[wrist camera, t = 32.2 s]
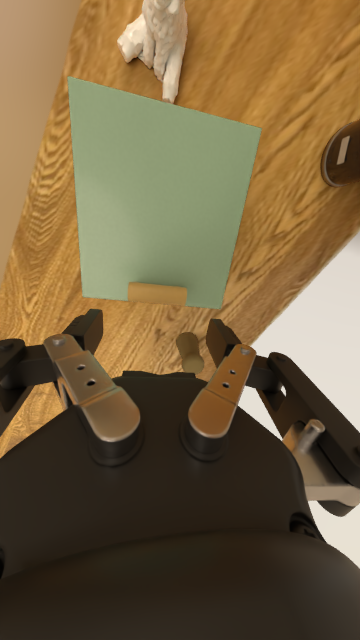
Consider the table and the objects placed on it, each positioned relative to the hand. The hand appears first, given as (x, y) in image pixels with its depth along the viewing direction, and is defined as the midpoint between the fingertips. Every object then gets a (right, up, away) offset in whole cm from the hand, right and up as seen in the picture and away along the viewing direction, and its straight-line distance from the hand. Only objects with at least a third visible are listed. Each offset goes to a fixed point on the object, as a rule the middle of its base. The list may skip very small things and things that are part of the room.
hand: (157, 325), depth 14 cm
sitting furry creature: (-1, +40, +13) cm, 42 cm away
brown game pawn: (+4, -6, +37) cm, 38 cm away
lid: (0, +11, +7) cm, 13 cm away
